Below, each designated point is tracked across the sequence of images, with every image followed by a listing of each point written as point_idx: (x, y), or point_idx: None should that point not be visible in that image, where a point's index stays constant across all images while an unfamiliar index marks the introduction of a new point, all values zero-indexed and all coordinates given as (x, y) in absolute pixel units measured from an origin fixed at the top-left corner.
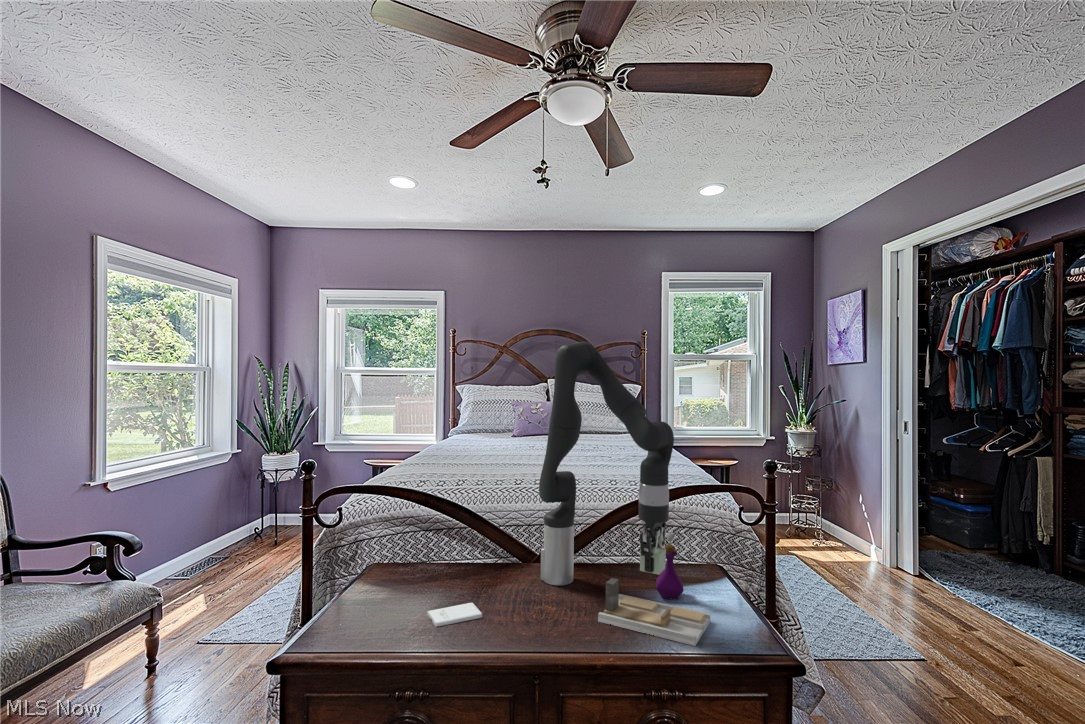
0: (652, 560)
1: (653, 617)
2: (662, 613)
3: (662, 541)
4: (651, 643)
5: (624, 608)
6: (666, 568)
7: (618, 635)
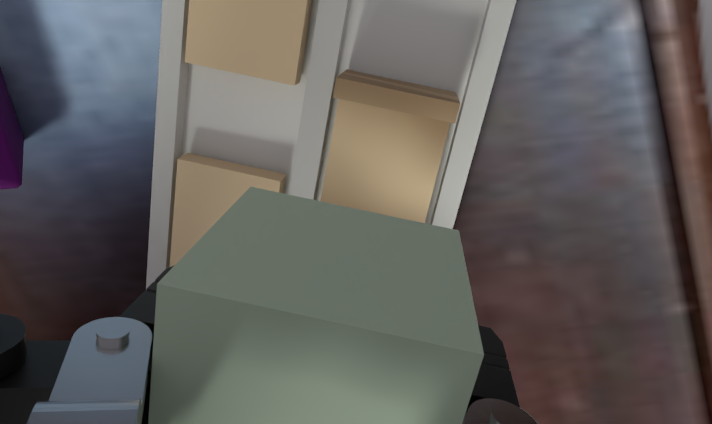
0: (486, 383)
1: (379, 162)
2: (243, 121)
3: (97, 405)
4: (561, 140)
5: None
6: None
7: (516, 291)
